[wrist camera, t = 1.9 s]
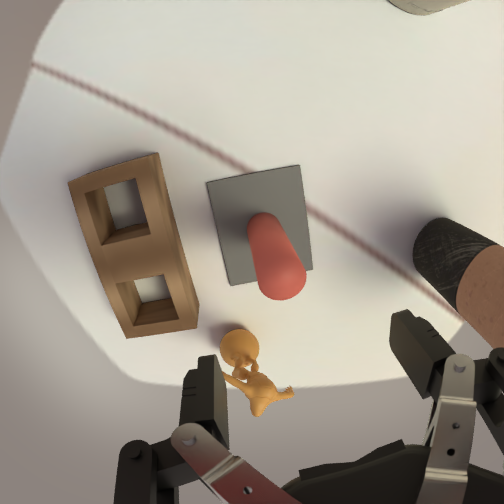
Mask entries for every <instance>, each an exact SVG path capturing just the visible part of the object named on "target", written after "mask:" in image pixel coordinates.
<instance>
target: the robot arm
mask: <svg viewBox="0 0 504 504" xmlns="http://www.w3.org/2000/svg"><path fill="white" fill-rule="evenodd" d="M389 1H390V2H391V3H392V4H394V5H395V6H397V7H399V8H400V9H402V10H404V11H406V12H409V13H412V14H415V15H429V14H432V13H435V12H439V11H442V10H443V9H446V8H449V7H452V6H455V5H458V4H461V3H464V2H467V1H470V0H389ZM389 343H390V347H391V350H392V352H393V353H394V355H395V356H396V358H397V359H398V361H399V362H400V364H401V366H402V367H403V369H404V370H405V372H406V373H407V375H408V376H409V378H410V379H411V381H412V383H413V384H414V386H415V387H416V389H417V391H418V392H419V394H420V395H421V397H422V399H425V398H428V397H430V396H432V398H433V402H432V406H431V411H430V416H429V420H428V424H427V428H426V433H425V436H424V439H423V442H422V445H415V444H411V445H404V443H403V441H402V439H401V440H398V441H395V442H393V443H390V444H387V445H385V446H382V447H379V448H377V449H375V450H374V451H372V452H371V453H369V454H367V455H366V456H364V457H362V458H360V459H359V460H357V461H355V462H347V463H333V464H323V465H319V466H315V467H311V468H306V469H302V470H299V474H300V476H299V477H297V478H295V479H293V480H291V481H290V482H288V483H287V484H285V485H284V486H283V487H282V488H279V487H278V486H277V485H275V484H274V483H273V482H271V481H270V480H269V479H268V478H266V477H265V476H264V475H262V474H261V473H260V472H259V471H257V470H256V469H255V468H253V467H252V466H251V465H250V464H249V463H247V462H246V461H245V460H244V459H242V458H241V457H239V456H234V455H232V453H230V452H229V451H228V450H229V434H228V433H229V432H228V410H227V389H226V383H225V379H224V376H223V373H222V370H221V367H220V365H219V362H218V359H217V356H216V355H215V354H214V355H208V356H201V357H199V358H198V368H197V369H192V370H189V371H188V373H187V374H186V376H185V378H184V381H183V390H182V400H181V411H180V421H179V427H177V428H176V429H175V430H174V431H173V433H172V435H171V437H170V438H168V439H166V440H164V441H161V442H158V443H155V444H152V445H149V444H148V443H147V442H145V441H142V440H134V441H131V442H128V443H127V444H125V445H124V446H123V447H122V449H121V451H120V454H119V461H118V468H117V476H116V485H115V494H114V504H179V489H178V486H181V485H184V484H187V483H190V482H193V481H195V480H198V479H199V480H200V481H201V482H202V483H203V484H204V485H205V486H206V487H207V488H208V489H209V490H210V491H211V492H212V493H213V494H214V495H215V496H216V497H217V498H218V499H219V500H220V501H221V502H222V503H223V504H504V471H503V475H500V474H497V473H494V472H492V471H489V470H486V469H483V468H480V467H478V466H475V465H472V464H470V463H469V459H470V453H471V447H472V440H473V433H474V425H475V416H476V408H477V410H478V411H479V413H480V415H481V416H482V418H483V420H484V421H485V423H486V425H487V426H488V428H489V430H490V432H491V433H492V435H493V437H494V439H495V440H496V442H497V444H498V446H499V448H500V449H501V451H502V453H503V455H504V395H503V393H504V348H503V347H498V348H495V349H493V350H492V351H491V352H490V355H489V358H486V359H480V360H472V359H471V358H470V357H469V356H467V355H464V354H456V353H455V352H454V350H453V349H452V348H451V347H450V346H449V344H448V343H447V342H446V341H445V340H444V339H443V337H442V336H441V335H439V333H438V332H437V331H436V329H434V327H433V326H432V325H431V324H430V323H429V322H428V321H427V320H425V319H423V318H421V317H415V316H414V315H413V314H412V313H411V312H410V311H409V310H408V309H406V310H403V311H400V312H396V313H393V314H392V316H391V327H390V337H389ZM502 391H503V393H502ZM503 469H504V462H503Z"/></svg>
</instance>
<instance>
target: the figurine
mask: <svg viewBox="0 0 504 504" xmlns="http://www.w3.org/2000/svg"><path fill="white" fill-rule="evenodd" d="M220 353H221V356H222V358H223V360H224V361H225V362H226V363H227V364H229V365H230V366H233V367H235V368H234V371H233V372H232V376H233V377H232V376H230V375H228V374H226V373H224V372H223V371H222V373H223V376H224V379H225V380H226V381H227V382H229V383H230V384H232V385H233V386H235V387H237V388H239V389H240V390H241V391H242V392H244V393H245V395H246V397H247V398H248V399H249V400H250V409H251V412H252V415H254V416H255V417H259V416H260V415H261V414H262V413H263V411H264V410H265V409H266V407H267V406H268V405H269V404H270V403H272V402H274V401H278V400H281V399H287V398H291V397H293V396H294V392H293V390H292V387H291V386H290V388H289V387H287V388H288V389H286V390H287V391H284V392H277V389H276V386H275V385H274V383H273V382H272V381H271V380H269V379H268V378H267V376H266V375H264V374H263V373H260V372H257V371H258V369H259V366H258V364H257V362H256V358H257V356H258V354H259V344H258V341H257V339H256V337H255V336H254V335H253V334H252V333H250V332H249V331H246V330H243V329H236V330H232V331H230V332H228V333H227V334H226V335H225V336H224V337H223V339H222V341H221V343H220ZM250 364H252V366H251V372H250V371H248V370H246V369H245V368H243V367H246V366H249V365H250ZM234 377H235V378H234ZM236 378H238V379H240V380H245V379H247V383H244V382H242V381H240V380H238V379H236Z"/></svg>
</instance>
